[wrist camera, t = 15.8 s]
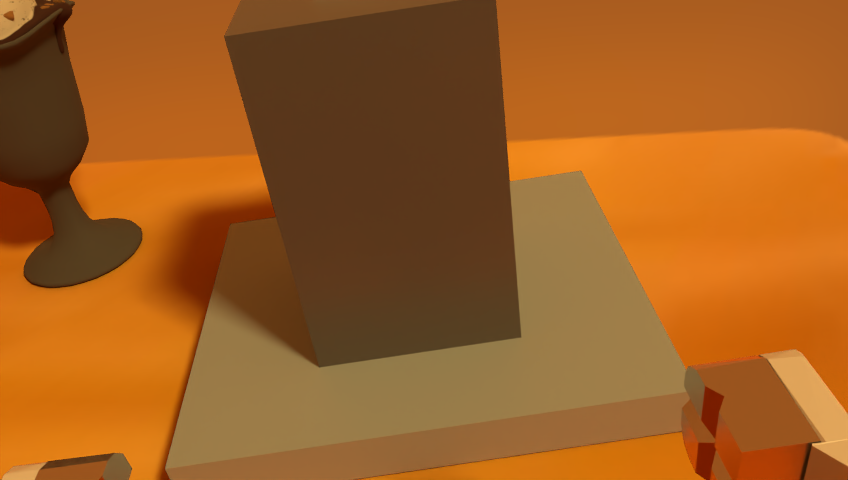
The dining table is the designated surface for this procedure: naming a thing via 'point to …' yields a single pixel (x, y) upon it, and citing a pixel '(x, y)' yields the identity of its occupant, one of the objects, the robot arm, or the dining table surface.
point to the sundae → (51, 145)
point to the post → (430, 364)
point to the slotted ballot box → (384, 168)
